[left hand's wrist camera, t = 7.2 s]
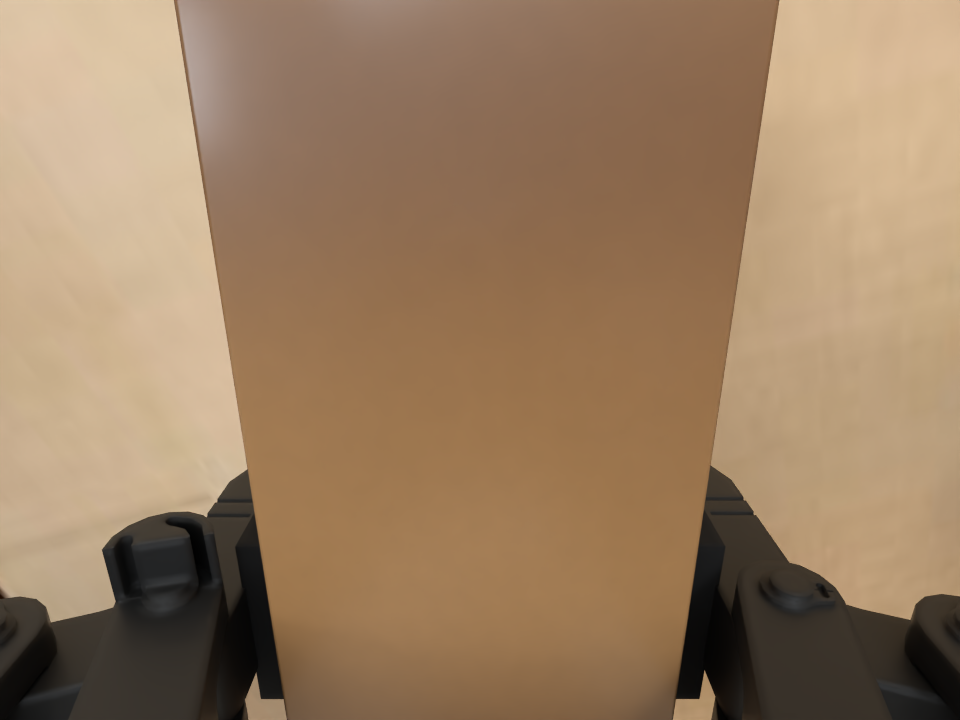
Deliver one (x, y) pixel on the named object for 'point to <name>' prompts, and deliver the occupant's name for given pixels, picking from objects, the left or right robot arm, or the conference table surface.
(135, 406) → the conference table surface
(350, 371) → the post
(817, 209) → the conference table surface
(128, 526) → the left robot arm
